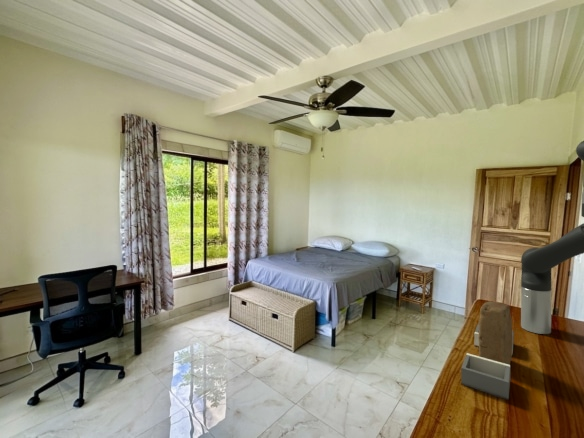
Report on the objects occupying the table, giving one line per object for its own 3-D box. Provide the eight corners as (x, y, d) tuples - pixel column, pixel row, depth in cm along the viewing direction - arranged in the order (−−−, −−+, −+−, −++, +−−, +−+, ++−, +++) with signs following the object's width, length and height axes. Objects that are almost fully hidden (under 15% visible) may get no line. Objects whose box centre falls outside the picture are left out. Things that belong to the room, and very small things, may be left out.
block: (503, 374, 85) (503, 311, 84) (476, 363, 91) (476, 304, 90) (515, 361, 91) (515, 302, 90) (489, 352, 98) (489, 297, 96)
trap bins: (478, 335, 110) (478, 323, 109) (513, 343, 103) (513, 330, 102) (461, 384, 82) (461, 367, 81) (508, 400, 74) (508, 382, 74)
